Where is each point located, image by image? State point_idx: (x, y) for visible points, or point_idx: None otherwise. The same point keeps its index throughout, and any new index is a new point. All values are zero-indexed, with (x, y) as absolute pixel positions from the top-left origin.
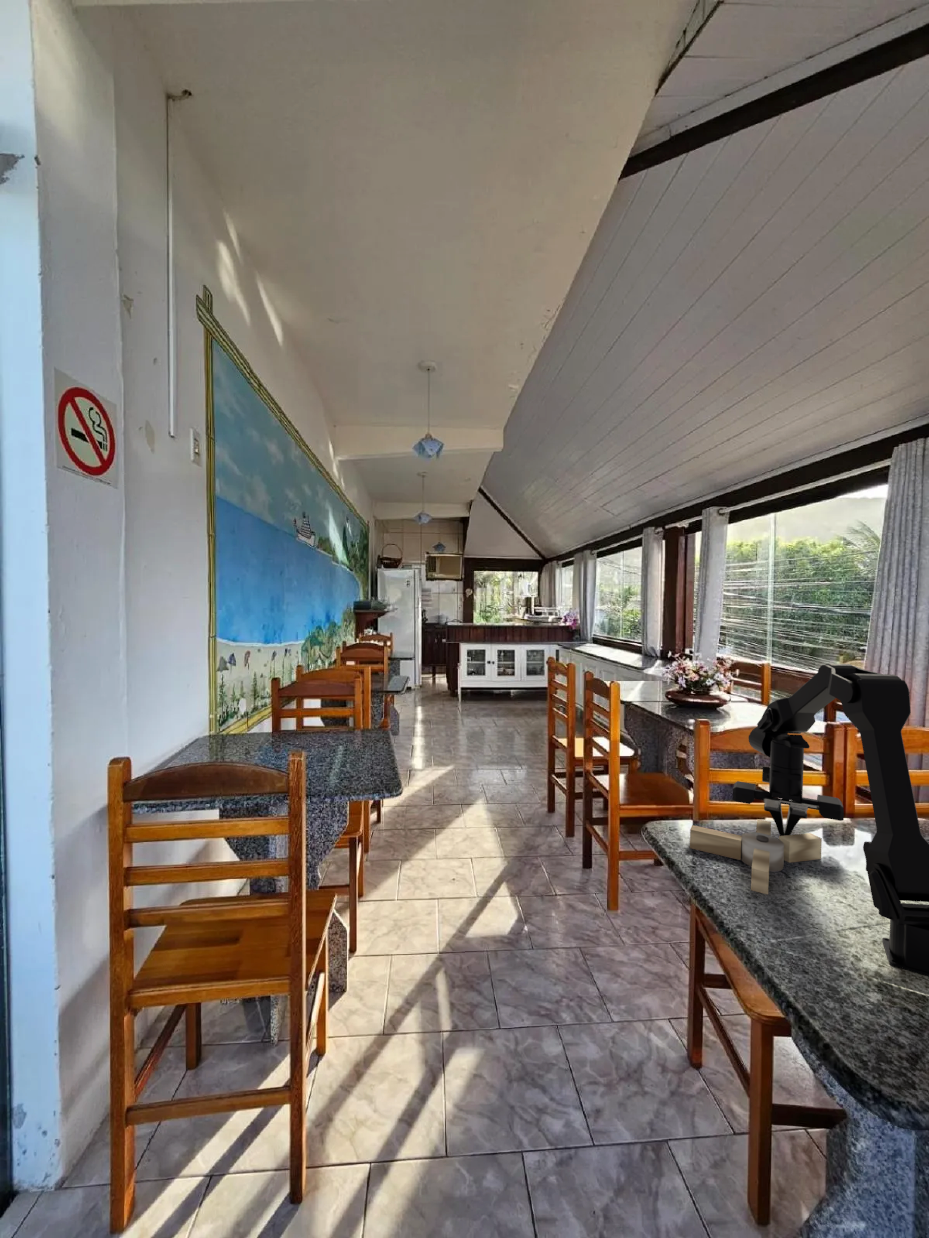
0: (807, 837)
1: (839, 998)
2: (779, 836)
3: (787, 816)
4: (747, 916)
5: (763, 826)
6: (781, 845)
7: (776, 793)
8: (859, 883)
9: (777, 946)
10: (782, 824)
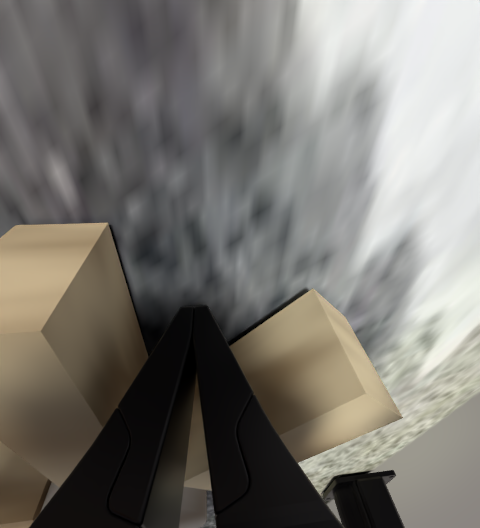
0: (320, 440)
1: None
2: None
3: (212, 492)
4: None
5: (46, 427)
6: (198, 522)
7: None
8: (399, 373)
9: (210, 516)
10: (180, 501)
